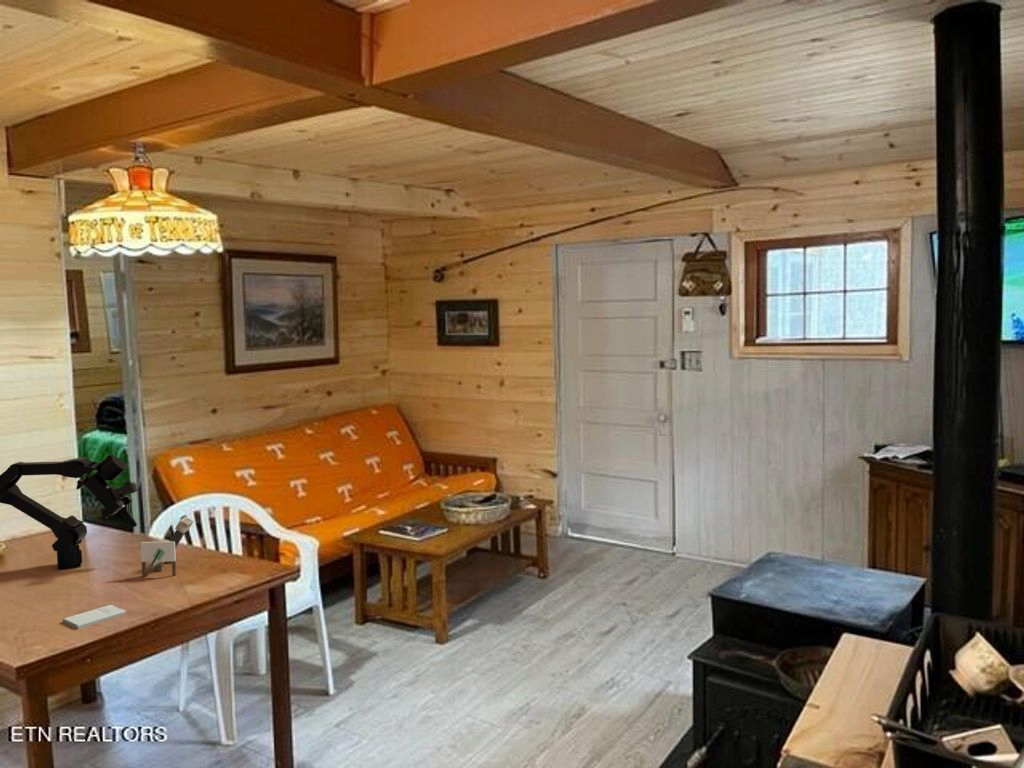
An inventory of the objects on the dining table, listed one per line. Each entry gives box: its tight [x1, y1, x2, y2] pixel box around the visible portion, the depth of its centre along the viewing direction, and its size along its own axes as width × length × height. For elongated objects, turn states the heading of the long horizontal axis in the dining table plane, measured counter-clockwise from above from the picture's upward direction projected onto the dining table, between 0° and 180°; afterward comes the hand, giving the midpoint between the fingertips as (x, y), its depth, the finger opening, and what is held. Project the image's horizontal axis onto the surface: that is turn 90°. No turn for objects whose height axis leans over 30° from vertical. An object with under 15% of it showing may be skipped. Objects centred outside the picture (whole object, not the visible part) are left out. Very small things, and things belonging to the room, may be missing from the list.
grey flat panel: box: [140, 541, 176, 563], centre depth 242 cm, size 10×1×6 cm, turn 91°
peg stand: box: [141, 561, 177, 577], centre depth 249 cm, size 10×14×4 cm
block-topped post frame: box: [146, 516, 194, 571], centre depth 248 cm, size 3×14×14 cm
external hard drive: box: [62, 604, 127, 630], centre depth 208 cm, size 2×8×12 cm
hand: (135, 526), depth 254 cm, fingers closed
